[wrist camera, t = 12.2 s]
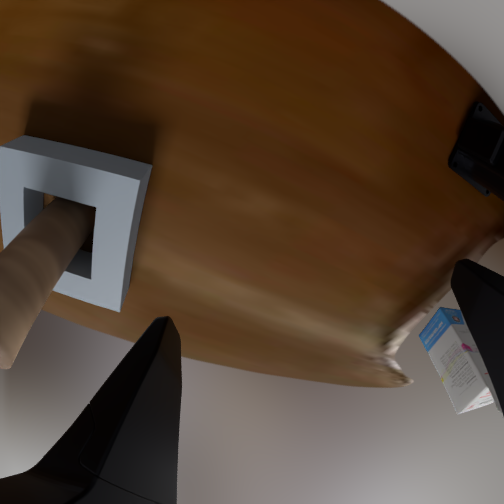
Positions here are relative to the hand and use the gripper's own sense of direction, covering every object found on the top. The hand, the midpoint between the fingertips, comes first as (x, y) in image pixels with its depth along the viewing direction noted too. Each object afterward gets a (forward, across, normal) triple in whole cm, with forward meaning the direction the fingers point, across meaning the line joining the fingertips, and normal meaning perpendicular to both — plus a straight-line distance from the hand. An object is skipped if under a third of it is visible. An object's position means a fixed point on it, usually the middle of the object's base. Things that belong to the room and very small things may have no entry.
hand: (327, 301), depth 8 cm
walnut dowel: (+13, +15, 0) cm, 20 cm away
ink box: (+13, -20, +22) cm, 32 cm away
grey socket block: (+13, +15, 0) cm, 20 cm away
